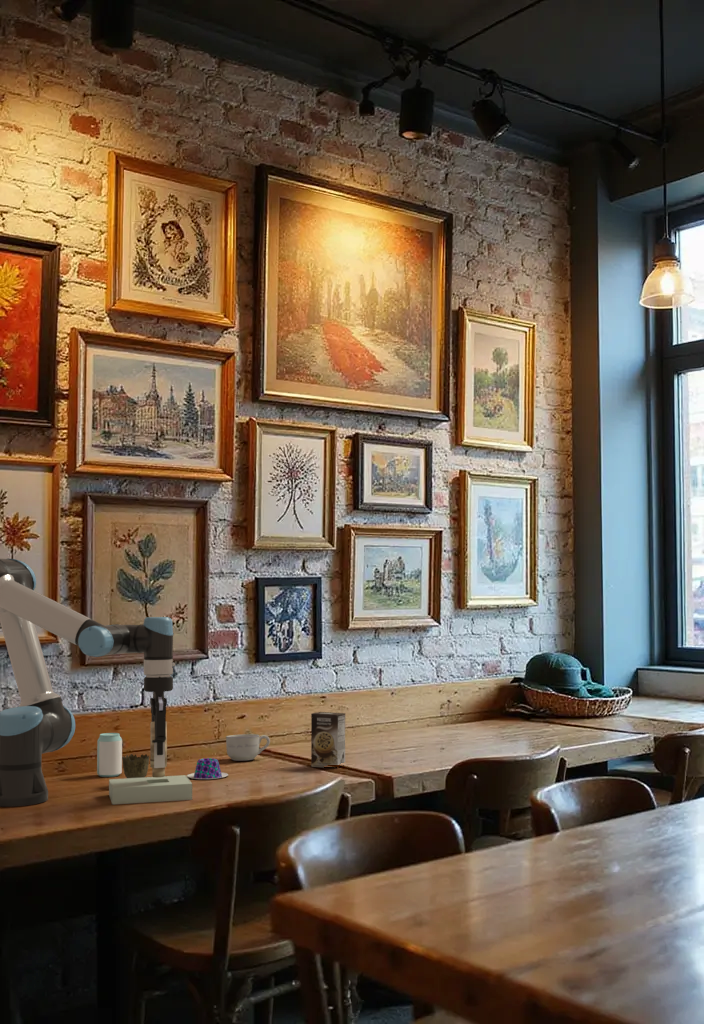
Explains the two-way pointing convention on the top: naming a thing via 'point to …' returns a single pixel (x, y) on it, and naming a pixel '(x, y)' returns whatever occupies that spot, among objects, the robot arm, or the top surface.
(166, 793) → the board
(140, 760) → the cup
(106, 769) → the can
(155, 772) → the peg
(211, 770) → the pudding
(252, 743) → the teacup
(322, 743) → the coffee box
